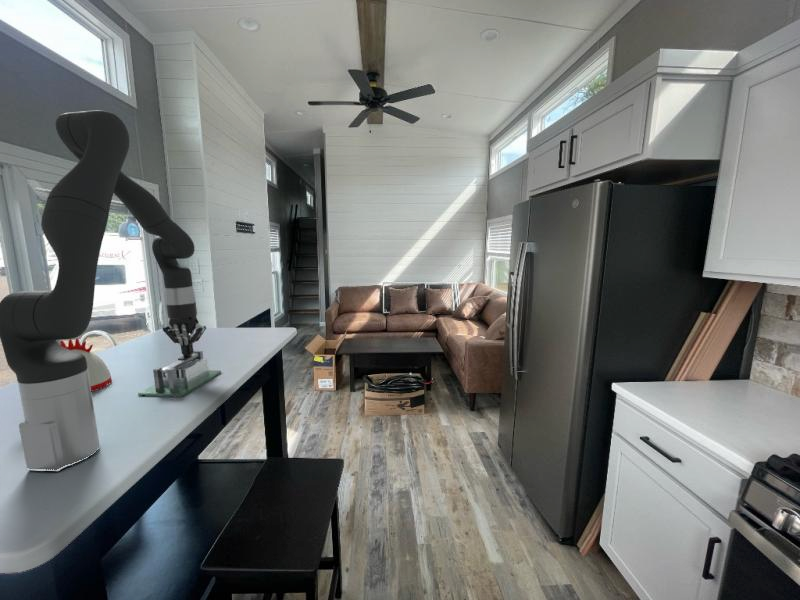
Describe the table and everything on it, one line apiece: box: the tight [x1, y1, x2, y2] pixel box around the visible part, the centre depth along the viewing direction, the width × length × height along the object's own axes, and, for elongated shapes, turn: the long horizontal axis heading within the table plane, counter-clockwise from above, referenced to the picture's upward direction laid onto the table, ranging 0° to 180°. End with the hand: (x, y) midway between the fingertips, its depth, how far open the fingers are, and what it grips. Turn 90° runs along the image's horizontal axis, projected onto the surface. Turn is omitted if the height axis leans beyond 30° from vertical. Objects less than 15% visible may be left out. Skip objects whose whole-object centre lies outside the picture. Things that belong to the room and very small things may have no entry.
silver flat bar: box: [159, 353, 198, 373], centre depth 99 cm, size 13×3×1 cm, turn 177°
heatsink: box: [137, 350, 222, 398], centre depth 100 cm, size 18×13×8 cm
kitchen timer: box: [59, 337, 112, 392], centre depth 97 cm, size 14×14×15 cm
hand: (188, 355), depth 103 cm, fingers closed
